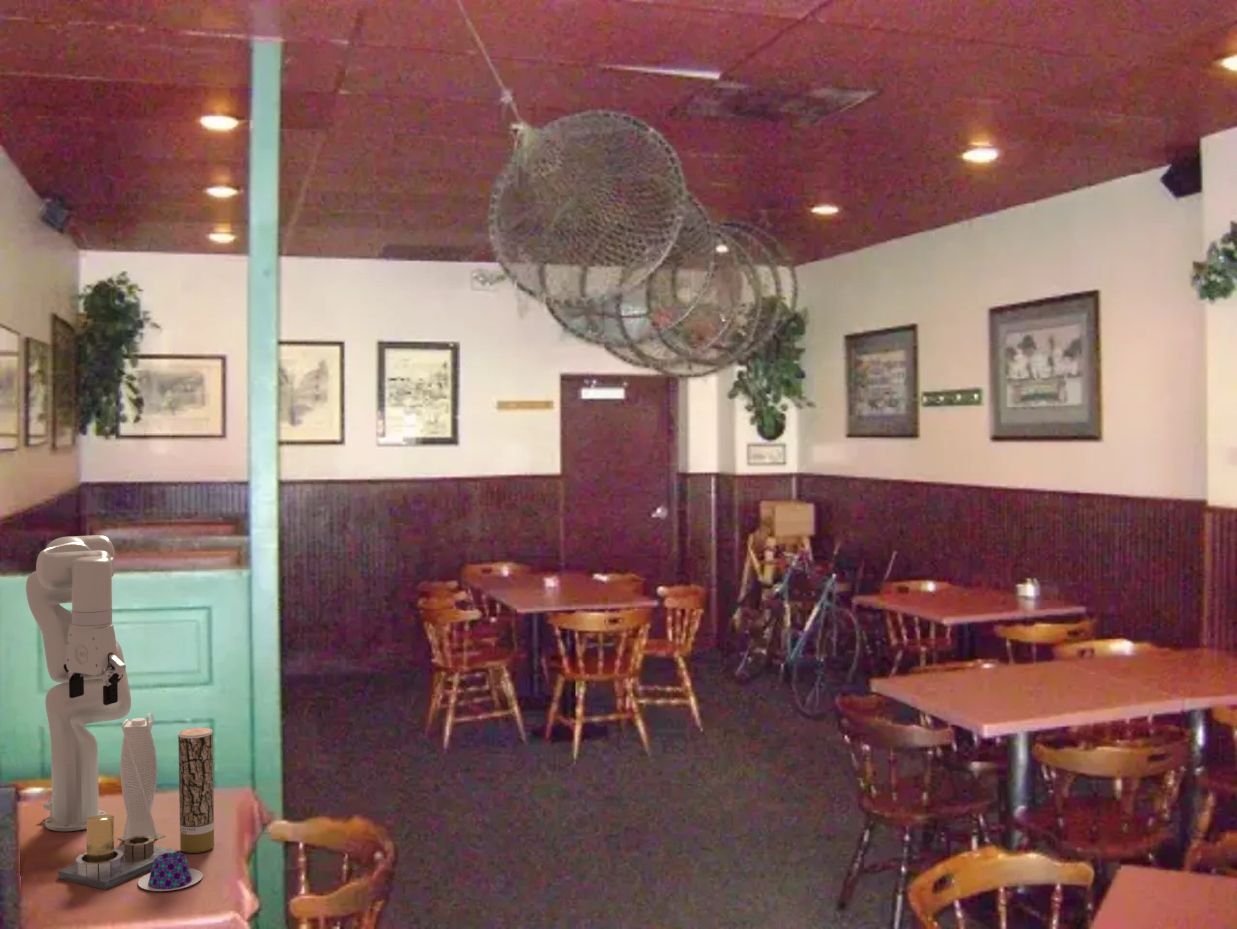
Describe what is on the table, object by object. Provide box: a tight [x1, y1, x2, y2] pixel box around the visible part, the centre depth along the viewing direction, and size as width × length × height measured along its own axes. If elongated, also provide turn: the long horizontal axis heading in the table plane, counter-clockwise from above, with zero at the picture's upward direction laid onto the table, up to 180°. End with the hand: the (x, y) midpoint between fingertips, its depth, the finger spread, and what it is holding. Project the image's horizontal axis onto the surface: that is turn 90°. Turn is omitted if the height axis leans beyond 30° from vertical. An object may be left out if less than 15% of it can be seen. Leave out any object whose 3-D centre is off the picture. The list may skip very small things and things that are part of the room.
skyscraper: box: [117, 712, 166, 842], centre depth 273 cm, size 8×8×28 cm
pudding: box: [137, 851, 203, 892], centre depth 250 cm, size 12×12×5 cm
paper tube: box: [177, 726, 215, 854], centre depth 267 cm, size 7×7×25 cm
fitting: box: [86, 814, 115, 863], centre depth 253 cm, size 5×5×10 cm
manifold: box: [57, 836, 180, 891], centre depth 257 cm, size 13×19×4 cm
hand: (93, 700), depth 261 cm, fingers open, 9 cm apart
